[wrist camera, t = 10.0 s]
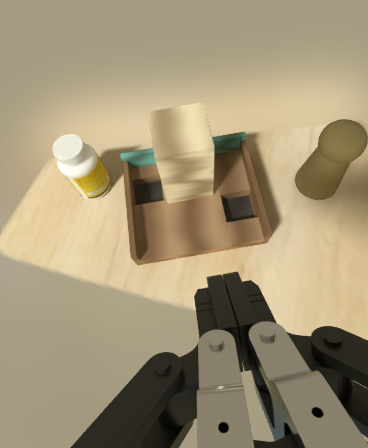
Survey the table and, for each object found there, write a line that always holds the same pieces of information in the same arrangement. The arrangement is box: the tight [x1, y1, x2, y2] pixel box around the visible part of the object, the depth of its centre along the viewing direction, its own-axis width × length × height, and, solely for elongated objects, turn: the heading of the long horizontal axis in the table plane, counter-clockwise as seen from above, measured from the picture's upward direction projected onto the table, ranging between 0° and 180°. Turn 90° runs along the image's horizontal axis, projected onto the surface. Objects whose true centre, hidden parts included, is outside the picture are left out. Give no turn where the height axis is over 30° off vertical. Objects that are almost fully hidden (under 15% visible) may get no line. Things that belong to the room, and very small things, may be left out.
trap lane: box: [120, 132, 272, 265], centre depth 41 cm, size 18×15×5 cm
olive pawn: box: [295, 119, 368, 200], centre depth 39 cm, size 6×6×11 cm
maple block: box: [148, 102, 215, 204], centre depth 38 cm, size 6×6×11 cm
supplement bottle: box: [53, 134, 111, 200], centre depth 42 cm, size 5×5×10 cm
